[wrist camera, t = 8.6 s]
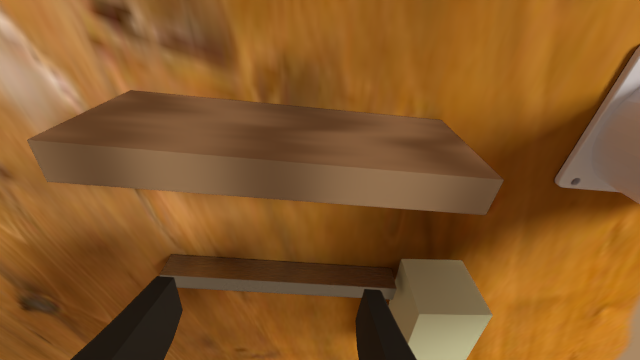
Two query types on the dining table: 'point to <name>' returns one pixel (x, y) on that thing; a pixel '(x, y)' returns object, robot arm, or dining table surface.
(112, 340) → the robot arm
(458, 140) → the wall board
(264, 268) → the strip
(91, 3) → the dining table surface
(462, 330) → the cabinet block
